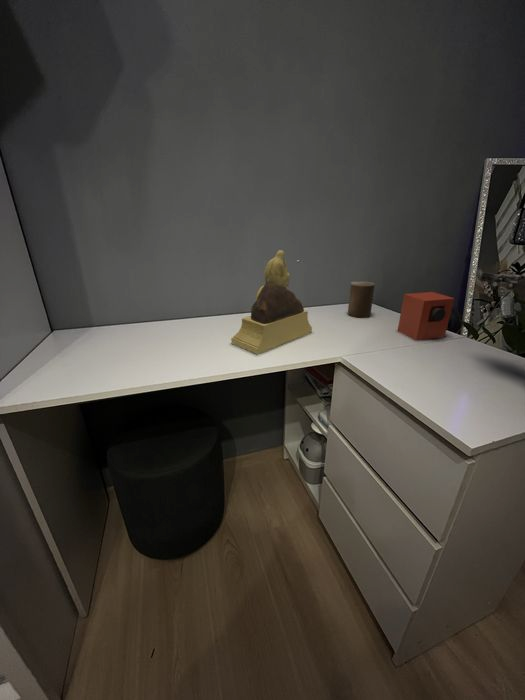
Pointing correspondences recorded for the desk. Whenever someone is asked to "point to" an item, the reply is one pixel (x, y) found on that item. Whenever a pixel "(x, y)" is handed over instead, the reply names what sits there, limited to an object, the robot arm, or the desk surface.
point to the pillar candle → (361, 299)
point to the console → (424, 315)
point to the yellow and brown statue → (273, 313)
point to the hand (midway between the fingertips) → (483, 276)
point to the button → (437, 314)
